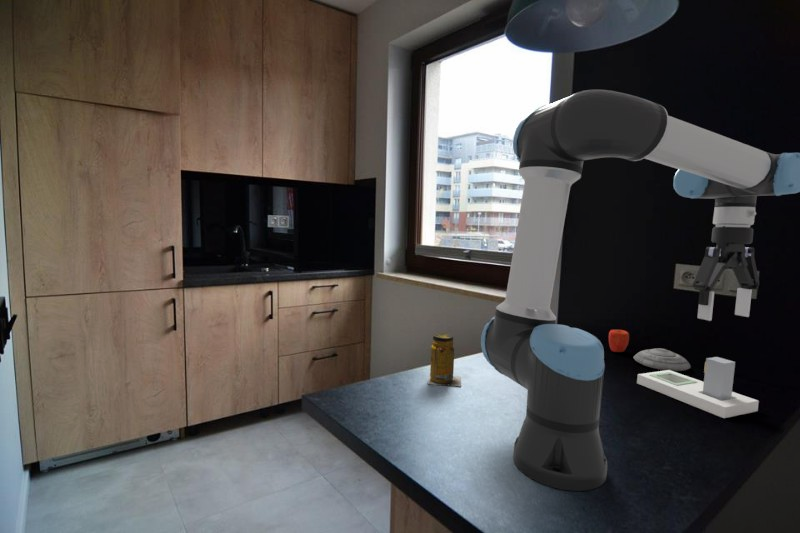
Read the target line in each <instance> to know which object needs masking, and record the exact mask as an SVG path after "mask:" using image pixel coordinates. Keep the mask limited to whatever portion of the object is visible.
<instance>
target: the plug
mask: <svg viewBox="0 0 800 533" xmlns="http://www.w3.org/2000/svg"><path fill="white" fill-rule="evenodd" d="M735 368H736V361H733V360H730V359H726V358H723V357H719V356H713V357H706V358H705V362H704V369H703V370H704V371H703V373H704V378H703V382H704V385H703V394H704V395H707V396H710V397H712V398H715V399H718V400H721V401H724V400H729V399H731V396H732V392H733V384H734V376H735Z"/></svg>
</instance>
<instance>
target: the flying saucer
mask: <svg viewBox="0 0 800 533" xmlns="http://www.w3.org/2000/svg"><path fill="white" fill-rule="evenodd" d="M633 359H634V361H635V362H636V363H638V364H641V365H643V366H645V367H649V368H650V369H651V368H652V369H655V370H660V371H665V370H671V371H674V372H682V371H688V370H689V369H691V368H692V366H691V364H690V363H689V361H688V360H687V358H685V357H683V356H682V355H680V354H678V353H676V352H674V351H671V350H668V349H666V348H660V347H659V348H658V347H657V348H650V349H644V350H640V351H639V352H637V353H636V354H635V355H634V356H633Z"/></svg>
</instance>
